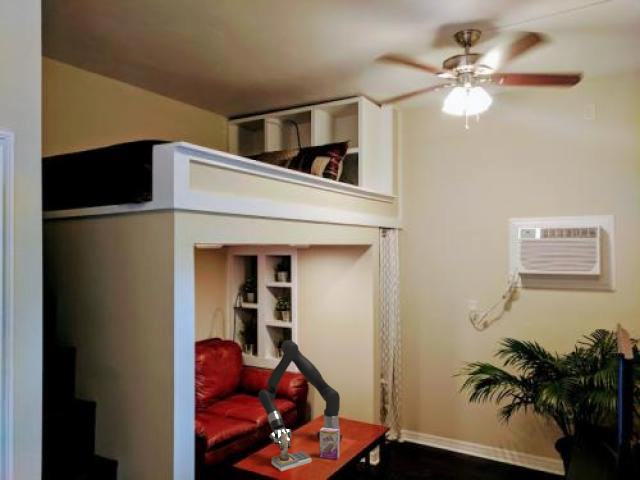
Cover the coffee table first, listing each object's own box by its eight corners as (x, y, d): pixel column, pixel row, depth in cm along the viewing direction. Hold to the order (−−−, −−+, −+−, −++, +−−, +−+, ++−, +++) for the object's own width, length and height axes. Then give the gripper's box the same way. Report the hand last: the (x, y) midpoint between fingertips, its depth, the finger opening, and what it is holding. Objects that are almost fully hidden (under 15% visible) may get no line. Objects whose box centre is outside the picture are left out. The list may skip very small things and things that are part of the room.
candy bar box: (319, 458, 288) (318, 430, 288) (321, 454, 293) (321, 427, 293) (337, 460, 285) (337, 431, 285) (339, 456, 290) (339, 428, 290)
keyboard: (301, 455, 292) (301, 449, 292) (311, 461, 283) (311, 455, 283) (271, 463, 281) (271, 457, 281) (281, 471, 272) (281, 464, 272)
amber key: (287, 457, 285) (287, 455, 285) (293, 461, 279) (293, 459, 279) (276, 460, 281) (276, 458, 281) (282, 465, 275) (282, 462, 275)
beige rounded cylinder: (286, 456, 284) (286, 431, 284) (291, 459, 279) (291, 434, 279) (277, 458, 280) (277, 433, 281) (282, 462, 276) (282, 437, 276)
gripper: (267, 420, 282) (277, 448, 272) (288, 415, 290) (299, 442, 280) (262, 426, 286) (272, 455, 276) (284, 421, 294) (294, 449, 284)
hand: (286, 448), depth 278 cm, fingers closed on beige rounded cylinder, 4 cm apart
